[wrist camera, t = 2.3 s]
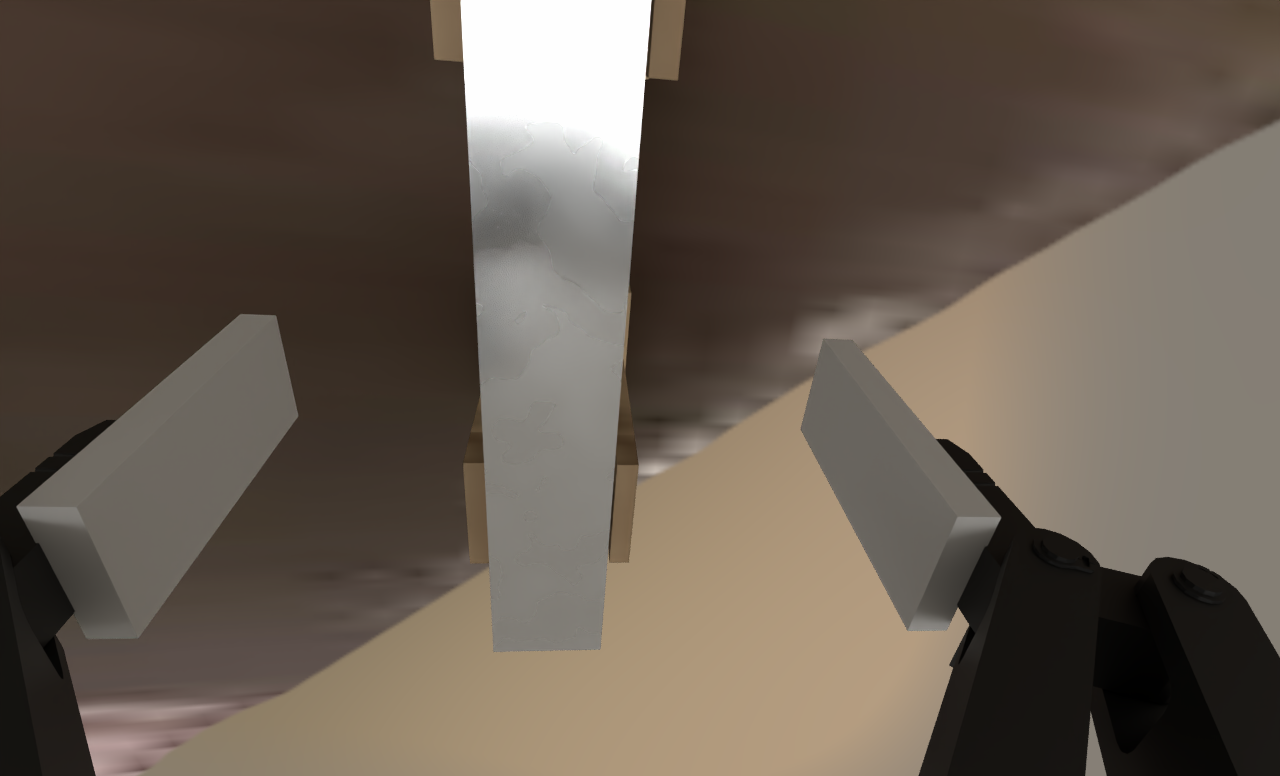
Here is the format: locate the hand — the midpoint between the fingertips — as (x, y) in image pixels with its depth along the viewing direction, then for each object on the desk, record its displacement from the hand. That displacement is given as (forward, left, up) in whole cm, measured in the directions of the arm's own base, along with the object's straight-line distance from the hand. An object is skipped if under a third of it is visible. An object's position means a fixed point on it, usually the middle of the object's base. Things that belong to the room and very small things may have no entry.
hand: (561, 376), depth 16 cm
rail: (0, 0, -7) cm, 7 cm away
